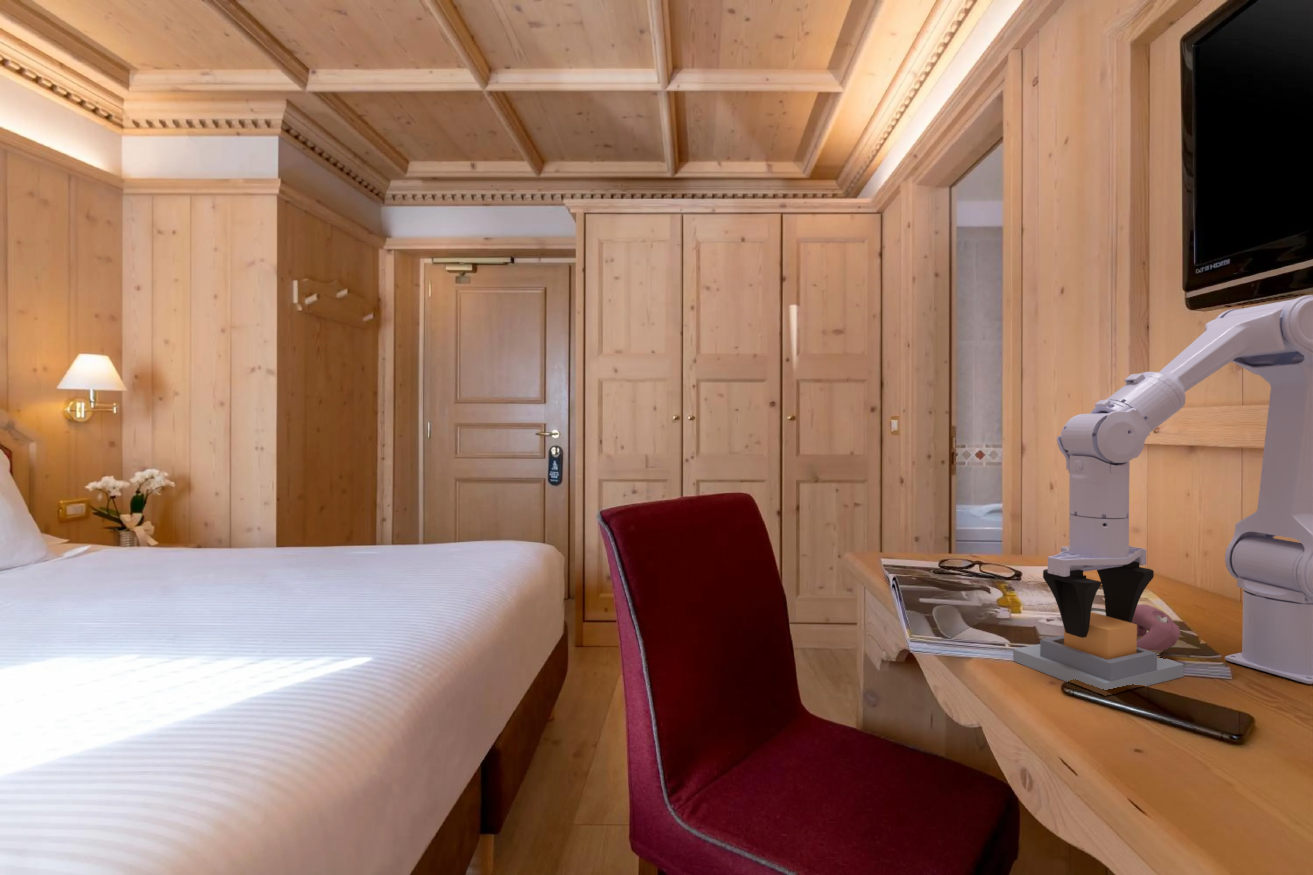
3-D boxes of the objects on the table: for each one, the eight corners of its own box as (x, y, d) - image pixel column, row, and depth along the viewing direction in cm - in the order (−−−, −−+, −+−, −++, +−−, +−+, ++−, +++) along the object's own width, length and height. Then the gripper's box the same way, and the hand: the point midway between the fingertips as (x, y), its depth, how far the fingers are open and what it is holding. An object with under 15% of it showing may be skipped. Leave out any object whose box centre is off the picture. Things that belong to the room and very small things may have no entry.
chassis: (1087, 645, 83) (1088, 619, 83) (1183, 676, 72) (1184, 647, 72) (1013, 660, 77) (1013, 633, 77) (1105, 696, 67) (1105, 664, 67)
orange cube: (1091, 652, 76) (1092, 612, 76) (1136, 667, 71) (1136, 624, 71) (1064, 658, 74) (1064, 617, 74) (1107, 674, 69) (1108, 629, 69)
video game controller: (1166, 676, 77) (1196, 627, 76) (1129, 657, 77) (1158, 609, 77) (1122, 647, 86) (1148, 604, 86) (1090, 631, 87) (1115, 588, 86)
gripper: (1103, 507, 79) (1102, 613, 79) (1023, 514, 74) (1022, 627, 74) (1166, 514, 72) (1165, 630, 73) (1083, 523, 67) (1082, 647, 67)
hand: (1097, 630), depth 73 cm, fingers open, 7 cm apart
